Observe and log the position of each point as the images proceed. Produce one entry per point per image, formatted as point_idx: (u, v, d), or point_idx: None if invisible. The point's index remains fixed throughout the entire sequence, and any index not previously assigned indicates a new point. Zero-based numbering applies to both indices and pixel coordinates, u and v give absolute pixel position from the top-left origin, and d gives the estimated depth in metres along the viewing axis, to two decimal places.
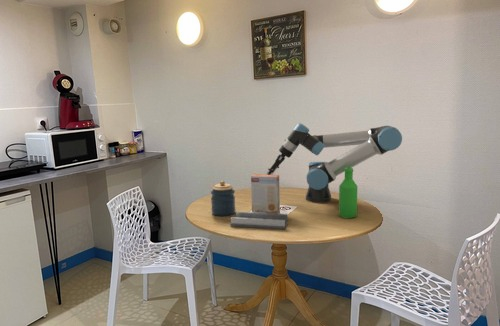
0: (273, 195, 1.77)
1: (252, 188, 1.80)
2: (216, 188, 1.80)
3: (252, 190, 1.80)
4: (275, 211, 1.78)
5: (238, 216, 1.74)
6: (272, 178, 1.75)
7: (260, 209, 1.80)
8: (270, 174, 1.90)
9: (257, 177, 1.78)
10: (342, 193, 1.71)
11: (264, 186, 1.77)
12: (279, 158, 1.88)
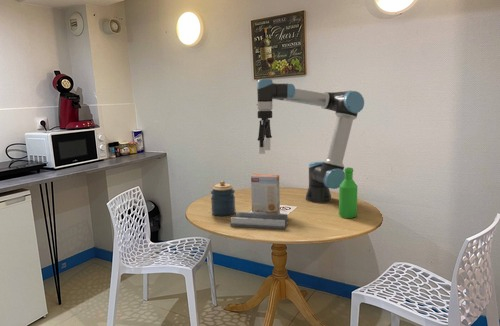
0: (273, 195, 1.77)
1: (252, 188, 1.80)
2: (216, 188, 1.80)
3: (252, 190, 1.80)
4: (275, 211, 1.78)
5: (238, 216, 1.74)
6: (272, 178, 1.75)
7: (260, 209, 1.80)
8: (263, 143, 1.70)
9: (257, 177, 1.78)
10: (342, 193, 1.71)
11: (264, 186, 1.77)
12: (261, 123, 1.69)
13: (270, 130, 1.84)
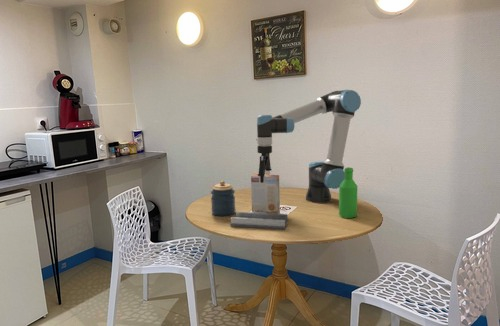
0: (273, 195, 1.77)
1: (252, 188, 1.80)
2: (216, 188, 1.80)
3: (252, 190, 1.80)
4: (275, 211, 1.78)
5: (238, 216, 1.74)
6: (272, 178, 1.75)
7: (260, 209, 1.80)
8: None
9: (257, 177, 1.78)
10: (342, 193, 1.71)
11: None
12: (261, 158, 1.71)
13: None
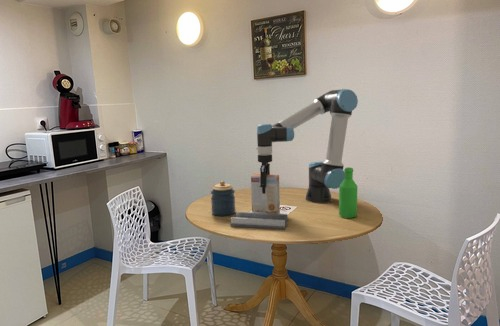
0: (273, 195, 1.77)
1: (252, 188, 1.80)
2: (216, 188, 1.80)
3: (252, 190, 1.80)
4: (275, 211, 1.78)
5: (238, 216, 1.74)
6: (272, 178, 1.75)
7: (260, 209, 1.80)
8: (265, 190, 1.77)
9: (257, 177, 1.78)
10: (342, 193, 1.71)
11: None
12: (261, 170, 1.73)
13: None
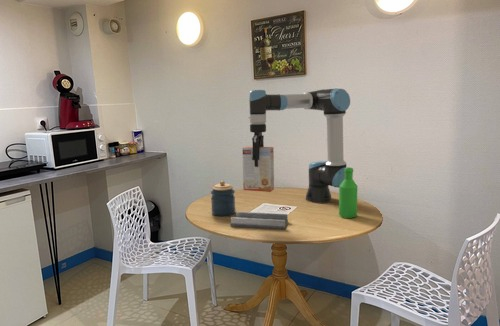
0: (266, 169, 1.60)
1: (243, 161, 1.63)
2: (216, 188, 1.80)
3: (243, 163, 1.64)
4: (268, 186, 1.61)
5: (238, 216, 1.74)
6: (265, 150, 1.59)
7: (252, 185, 1.64)
8: (258, 163, 1.60)
9: (249, 149, 1.62)
10: (342, 193, 1.71)
11: None
12: (254, 140, 1.56)
13: None
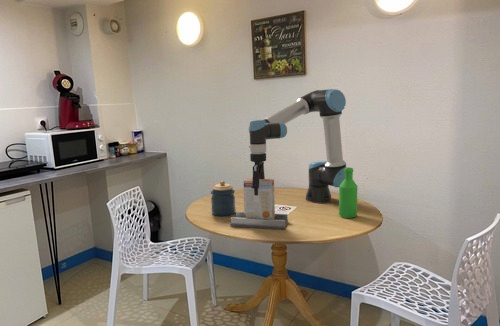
0: (268, 201, 1.62)
1: (245, 194, 1.65)
2: (216, 188, 1.80)
3: (245, 196, 1.65)
4: None
5: (238, 216, 1.74)
6: (266, 183, 1.61)
7: (253, 217, 1.65)
8: None
9: (250, 182, 1.63)
10: (342, 193, 1.71)
11: None
12: (254, 169, 1.56)
13: None
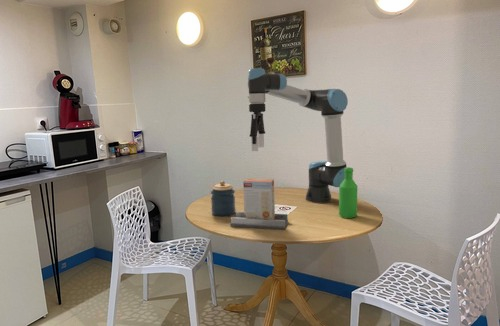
0: (268, 201, 1.62)
1: (244, 194, 1.65)
2: (216, 188, 1.80)
3: (244, 196, 1.65)
4: None
5: (238, 216, 1.74)
6: (266, 183, 1.60)
7: (253, 217, 1.65)
8: (256, 140, 1.54)
9: (250, 182, 1.63)
10: (342, 193, 1.71)
11: (258, 191, 1.62)
12: (253, 117, 1.52)
13: (263, 125, 1.68)
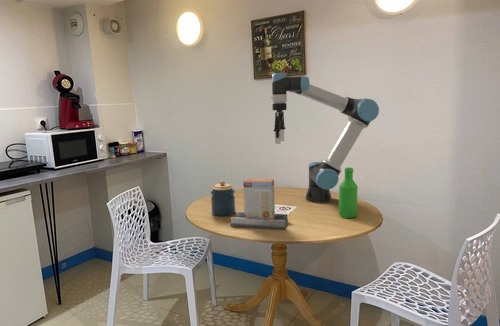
0: (268, 201, 1.62)
1: (244, 194, 1.65)
2: (216, 188, 1.80)
3: (245, 196, 1.65)
4: None
5: (238, 216, 1.74)
6: (266, 183, 1.60)
7: (253, 217, 1.65)
8: (279, 134, 1.79)
9: (250, 182, 1.63)
10: (342, 193, 1.71)
11: (258, 191, 1.62)
12: (276, 114, 1.78)
13: None
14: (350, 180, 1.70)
